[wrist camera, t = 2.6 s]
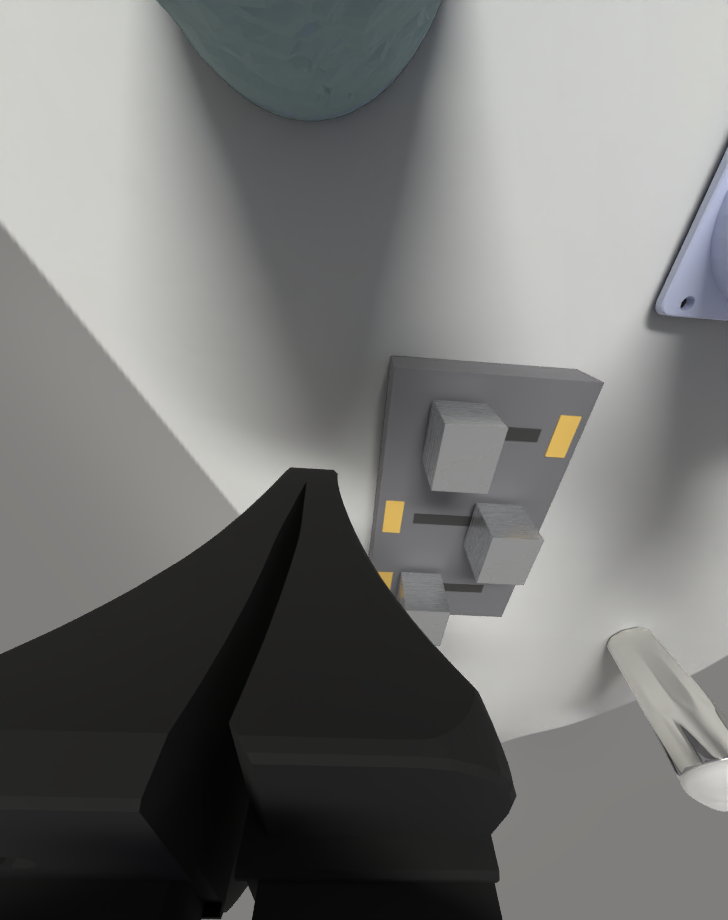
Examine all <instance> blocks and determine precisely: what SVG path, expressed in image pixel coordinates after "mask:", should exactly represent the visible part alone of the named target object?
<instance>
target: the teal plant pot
mask: <svg viewBox="0 0 728 920" xmlns="http://www.w3.org/2000/svg"><path fill="white" fill-rule="evenodd" d="M157 1H158V2H159V3H160V5H161V6H162V7H163V8H164V9H165V10H166V11H167V12H168V13H169V15H170V16H171V17H172V18H173V19H174V21H175V22H176V23H177V24H178V26H179V27H180V28H181V30H182V31H183V33H184V34H185V36H186V37H187V39H188V40H189V41H190V43H191V44H192V45H193V47H194V48H195V50H196V51H197V52H198V54H199V55H200V56H201V57H202V58H203V59H204V60H205V61H206V62H207V63H208V65H209V66H210V67H211V68H212V69H213V70H214V71H215V72H216V73H217V74H218V75H219V76H220V77H221V78H222V79H223V80H225V81H226V82H227V83H228V84H229V85H230V86H231V87H232V88H234V89H235V90H236V91H237V92H238V93H239V94H240V95H242V96H243V97H245V98H246V99H248V100H249V101H251V102H252V103H254V104H255V105H257V106H259V107H261V108H263V109H265V110H267V111H269V112H271V113H274V114H277V115H280V116H283V117H286V118H291V119H296V120H306V121H319V120H325V119H331V118H337V117H340V116H343V115H346V114H349V113H351V112H353V111H355V110H356V109H358V108H360V107H362V106H363V105H365V104H367V103H369V102H371V101H372V100H373V99H374V98H376V97H377V96H378V95H379V94H380V93H382V92H383V91H384V90H385V89H386V88H387V87H388V86H389V85H390V84H391V83H393V82H394V80H395V79H396V78H397V76H398V75H399V74H400V73H401V71H402V70H403V69H404V68H405V66H406V65H407V64H408V62H409V61H410V60H411V59H412V57H413V56H414V54H415V52H416V51H417V49H418V47H419V46H420V44H421V42H422V40H423V39H424V37H425V35H426V34H427V32H428V30H429V28H430V26H431V24H432V21H433V19H434V17H435V15H436V13H437V10H438V8H439V6H440V4H441V1H442V0H157Z"/></svg>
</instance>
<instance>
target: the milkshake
mask: <svg viewBox="0 0 728 920" xmlns="http://www.w3.org/2000/svg"><path fill="white" fill-rule="evenodd" d="M607 647H608V649H609V651H610V653H611V655H612V656H613V658H614V660H615V662H616V664H617V665H618V667H619V669H620V671H621V673H622V674H623V676H624V678H625V680H626V682H627V683H628V685H629V687H630V689H631V691H632V692H633V694H634V696H635V698H636V700H637V701H638V703H639V705H640V707H641V709H642V710H643V712H644V714H645V716H646V718H647V720H648V721H649V723H650V725H651V727H652V729H653V731H654V733H655V735H656V737H657V739H658V741H659V743H660V745H661V746H662V749H663V750H664V752H665V754H666V756H667V758H668V760H669V762H670V764H671V765H672V767H673V769H674V771H675V773H676V775H677V777H678V779H679V781H680V782H681V785H682V787H683V789H684V790H685V792H686V793H687V794H688V795H690V796H691V797H692V798H694V799H695V800H697V801H699V802H700V803H702V804H704V805H706V806H708V807H710V808H713V809H715V810H719V811H728V717H727V716H726V715H725V714H724V713H723V712H722V711H721V710H720V708H719V707H717V706H716V704H715V703H714V702H713V701H712V700H711V699H710V698H709V697H708V696H707V695H706V693H705V692H704V691H703V690H702V689H701V688H700V687H699V686H698V684H697V683H696V682H695V681H694V680H693V679H692V678H691V677H690V676H689V674H688V673H687V672H686V671H685V670H684V669H683V668H682V667H681V665H680V664H679V663H678V662H677V661H676V660H675V659H674V658H673V656H672V655H671V654H670V653H669V652H668V651H667V650H666V649H665V647H664V646H663V645H662V644H661V643H660V642H659V641H658V640H657V638H656V637H655V636H654V635H653V634H652V633H651V632H650V631H649V630H647V629H641V628H632V629H628V630H623V631H621V632H619V633H617V634H616V635H614V636H612V637H611V638H610V640H609V642H608V644H607Z"/></svg>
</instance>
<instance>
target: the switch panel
mask: <svg viewBox="0 0 728 920" xmlns="http://www.w3.org/2000/svg"><path fill="white" fill-rule="evenodd" d="M603 384H604V382H602V381H600V380H598V379H596V378H594V377H592V376H590V375H587V374H585V373H583V372H581V371H579V370H577V369H565V368H552V367H538V366H525V365H511V364H497V363H484V362H470V361H457V360H443V359H429V358H416V357H402V356H391V362H390V371H389V380H388V389H387V398H386V407H385V416H384V425H383V434H382V443H381V452H380V461H379V470H378V479H377V488H376V497H375V506H374V515H373V524H372V533H371V542H370V551H369V559H370V561H371V562H372V564H373V565H374V567H375V569H376V570H377V572H378V573H379V575H380V576H381V578H382V579H383V581H384V582H385V584H386V585H387V587H388V588H389V590H390V591H391V592H392V593H393V595H394V596H395V597H396V598H397V592H398V587H399V581H400V576H401V572H412V573H433V574H441V578H442V582H443V585H444V589H445V593H446V597H447V601H448V605H449V609H450V615H472V616H494V617H502V614H503V612H504V610H505V607H506V605H507V603H508V601H509V598H510V596H511V594H512V592H513V589H514V587H515V585H510V584H489V583H477V582H476V579H475V576H474V573H473V571H472V568H471V565H470V562H469V559H468V557H467V554H466V551H465V548H464V542H465V539H466V535H467V532H468V529H469V525H470V522H471V519H472V515H473V512H474V509H475V505H476V503H491V504H508V505H521V506H522V508H523V509H524V511H525V512H526V514H527V515H528V517H529V518H530V520H531V521H532V523H533V524H534V526H535V527H536V529H537V530H538V532H539V530H540V528H541V525H542V523H543V521H544V519H545V516H546V514H547V512H548V509H549V507H550V505H551V503H552V500H553V498H554V496H555V494H556V491H557V489H558V487H559V484H560V482H561V480H562V478H563V475H564V473H565V471H566V468H567V466H568V464H569V462H570V459H571V457H572V455H573V453H574V450H575V448H576V446H577V443H578V441H579V439H580V437H581V434H582V432H583V430H584V427H585V425H586V423H587V421H588V418H589V416H590V414H591V412H592V409H593V407H594V405H595V402H596V400H597V398H598V396H599V393H600V391H601V389H602V386H603ZM433 400H446V401H460V402H475V403H487V405H488V406H489V407H490V408H491V409H492V410H493V411H494V412H495V414H496V415H497V416H498V417H499V418H500V419H501V420H502V421H503V422H504V424H505V425H506V426H507V427H508V431H507V434H506V437H505V441H504V444H503V447H502V450H501V453H500V456H499V460H498V463H497V466H496V469H495V472H494V475H493V479H492V482H491V485H490V488H489V491H488V494H480V493H463V492H446V491H431V488H430V485H429V481H428V478H427V475H426V471H425V468H424V465H423V462H422V456H423V450H424V445H425V440H426V434H427V429H428V423H429V418H430V412H431V407H432V401H433Z"/></svg>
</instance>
